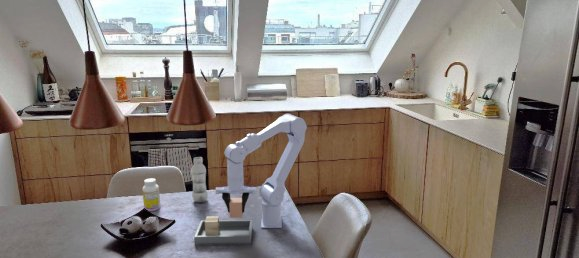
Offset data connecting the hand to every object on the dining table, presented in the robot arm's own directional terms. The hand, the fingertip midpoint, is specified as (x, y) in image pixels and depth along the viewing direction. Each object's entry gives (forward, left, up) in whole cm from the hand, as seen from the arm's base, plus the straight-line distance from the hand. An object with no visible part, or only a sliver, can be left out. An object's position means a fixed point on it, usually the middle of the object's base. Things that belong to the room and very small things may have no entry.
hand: (236, 211), depth 151 cm
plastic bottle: (-29, -19, -9) cm, 35 cm away
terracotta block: (0, 0, -2) cm, 2 cm away
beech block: (+3, -9, -7) cm, 12 cm away
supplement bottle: (-22, -38, -9) cm, 45 cm away
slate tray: (+3, -4, -8) cm, 10 cm away
